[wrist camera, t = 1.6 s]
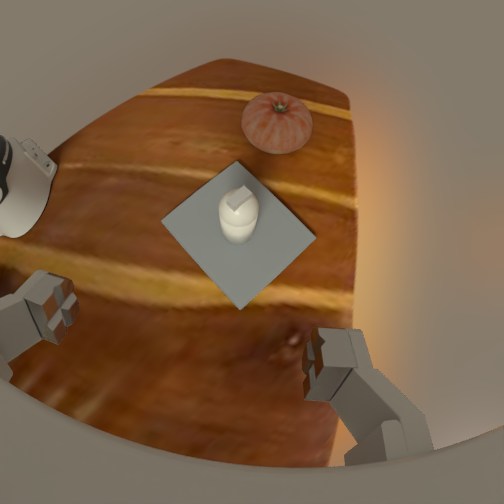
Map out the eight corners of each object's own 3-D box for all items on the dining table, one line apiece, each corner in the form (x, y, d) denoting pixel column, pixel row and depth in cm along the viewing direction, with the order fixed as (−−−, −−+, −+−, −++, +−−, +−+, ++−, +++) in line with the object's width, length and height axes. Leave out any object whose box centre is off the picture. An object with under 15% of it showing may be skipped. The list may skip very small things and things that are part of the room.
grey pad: (162, 223, 38) (160, 220, 37) (236, 164, 41) (236, 160, 40) (240, 310, 35) (240, 310, 34) (314, 239, 38) (316, 237, 37)
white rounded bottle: (214, 227, 37) (208, 194, 27) (239, 207, 38) (240, 169, 28) (236, 251, 36) (237, 225, 27) (261, 229, 37) (270, 197, 28)
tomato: (292, 175, 41) (303, 145, 33) (228, 147, 41) (227, 114, 34) (315, 129, 43) (327, 98, 36) (258, 105, 44) (262, 72, 36)
